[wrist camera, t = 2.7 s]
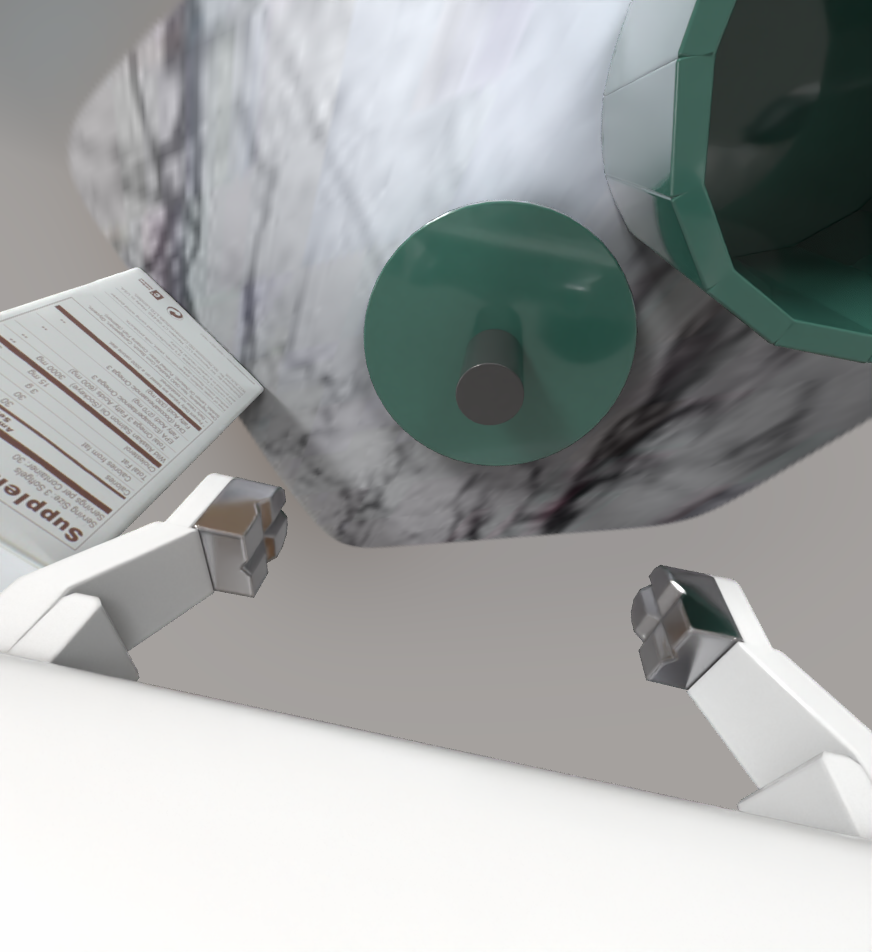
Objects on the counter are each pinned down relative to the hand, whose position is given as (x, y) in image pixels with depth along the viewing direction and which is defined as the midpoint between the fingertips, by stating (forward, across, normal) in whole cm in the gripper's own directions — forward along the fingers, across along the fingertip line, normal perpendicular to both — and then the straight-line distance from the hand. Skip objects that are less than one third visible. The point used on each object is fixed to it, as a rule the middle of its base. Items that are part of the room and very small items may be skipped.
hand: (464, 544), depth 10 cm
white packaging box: (+12, +15, +4) cm, 20 cm away
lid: (+11, 0, 0) cm, 11 cm away
